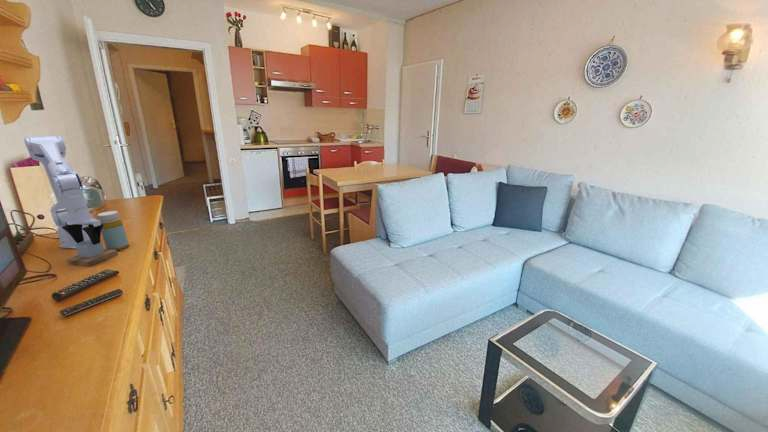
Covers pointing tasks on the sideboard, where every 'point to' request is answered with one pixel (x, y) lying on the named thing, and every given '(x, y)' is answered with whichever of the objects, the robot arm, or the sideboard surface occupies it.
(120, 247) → the bottle
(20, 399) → the sideboard surface
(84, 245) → the cube
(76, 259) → the base slab
